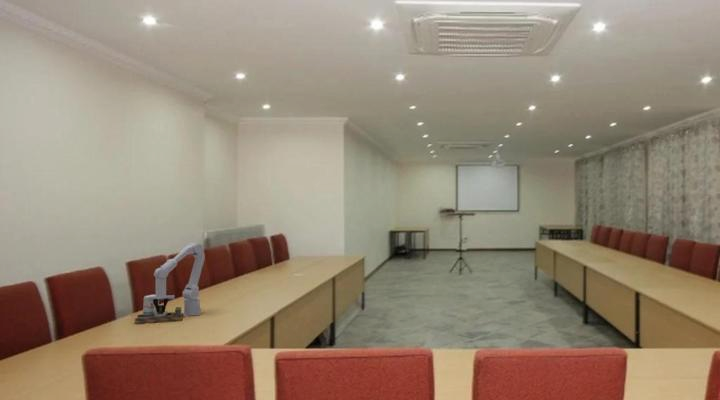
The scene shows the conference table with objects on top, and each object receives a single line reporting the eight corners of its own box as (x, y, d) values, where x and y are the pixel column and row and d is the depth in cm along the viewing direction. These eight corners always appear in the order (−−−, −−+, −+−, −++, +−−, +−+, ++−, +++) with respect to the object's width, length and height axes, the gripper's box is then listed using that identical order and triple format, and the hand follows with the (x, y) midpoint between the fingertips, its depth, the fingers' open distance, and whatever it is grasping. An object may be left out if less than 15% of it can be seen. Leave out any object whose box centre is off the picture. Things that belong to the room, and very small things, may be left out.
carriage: (168, 315, 270) (168, 303, 270) (167, 318, 263) (167, 306, 263) (155, 316, 268) (155, 304, 268) (154, 319, 261) (154, 307, 261)
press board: (183, 315, 275) (183, 305, 275) (182, 320, 263) (182, 310, 263) (138, 319, 267) (138, 309, 267) (134, 324, 255) (134, 313, 255)
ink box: (150, 316, 274) (150, 297, 274) (142, 316, 275) (142, 296, 275) (159, 313, 282) (159, 294, 282) (152, 313, 283) (152, 294, 283)
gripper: (146, 290, 260) (146, 314, 259) (173, 289, 264) (173, 312, 264) (148, 288, 266) (147, 311, 266) (174, 287, 271) (174, 309, 271)
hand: (160, 311), depth 265 cm, fingers closed on carriage, 3 cm apart
